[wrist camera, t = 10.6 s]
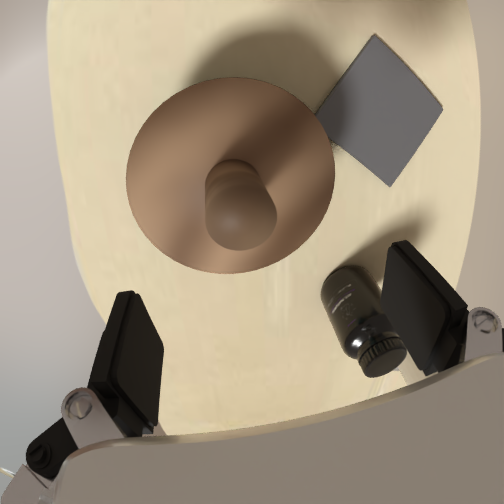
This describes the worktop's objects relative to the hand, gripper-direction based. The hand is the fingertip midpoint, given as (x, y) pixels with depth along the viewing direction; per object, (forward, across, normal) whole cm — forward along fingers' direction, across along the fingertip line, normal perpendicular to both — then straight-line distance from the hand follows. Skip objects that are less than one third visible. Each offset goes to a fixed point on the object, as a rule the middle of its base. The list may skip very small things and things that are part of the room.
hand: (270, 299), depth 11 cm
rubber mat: (+18, -15, -4) cm, 23 cm away
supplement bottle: (+18, -11, +16) cm, 27 cm away
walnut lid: (+11, +1, -1) cm, 11 cm away
